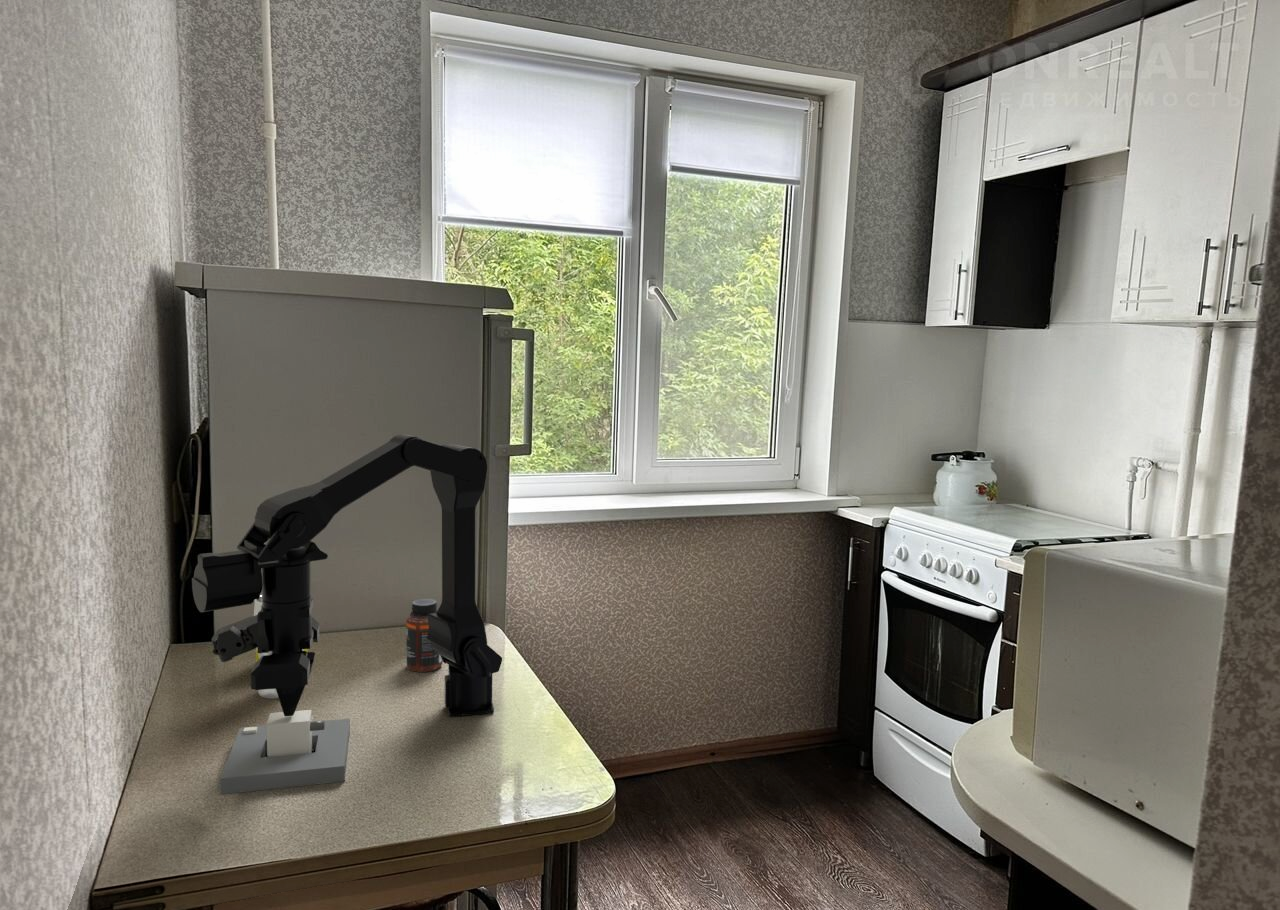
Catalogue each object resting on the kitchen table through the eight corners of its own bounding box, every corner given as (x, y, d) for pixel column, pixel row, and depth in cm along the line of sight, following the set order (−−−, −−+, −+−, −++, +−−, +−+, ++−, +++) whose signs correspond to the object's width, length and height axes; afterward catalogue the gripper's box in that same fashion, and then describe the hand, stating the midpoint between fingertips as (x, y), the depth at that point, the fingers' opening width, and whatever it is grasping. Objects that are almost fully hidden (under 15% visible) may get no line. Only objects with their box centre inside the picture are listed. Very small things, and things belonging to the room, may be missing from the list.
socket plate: (349, 732, 119) (349, 715, 118) (344, 781, 105) (344, 762, 105) (240, 741, 115) (239, 725, 114) (220, 794, 101) (220, 775, 101)
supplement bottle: (450, 665, 144) (450, 600, 143) (423, 676, 139) (424, 609, 138) (425, 657, 148) (425, 594, 146) (398, 667, 143) (398, 602, 141)
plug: (325, 751, 113) (325, 708, 112) (323, 764, 109) (323, 719, 109) (271, 757, 111) (270, 713, 110) (267, 769, 108) (266, 724, 107)
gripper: (230, 580, 114) (233, 691, 116) (200, 624, 96) (204, 755, 98) (318, 576, 117) (320, 685, 119) (305, 618, 99) (308, 745, 101)
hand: (289, 715), depth 109 cm, fingers closed
